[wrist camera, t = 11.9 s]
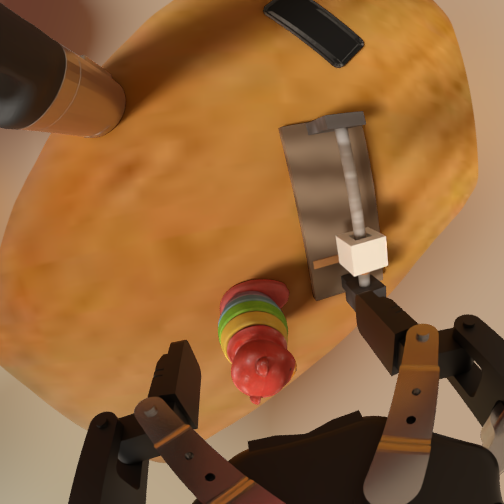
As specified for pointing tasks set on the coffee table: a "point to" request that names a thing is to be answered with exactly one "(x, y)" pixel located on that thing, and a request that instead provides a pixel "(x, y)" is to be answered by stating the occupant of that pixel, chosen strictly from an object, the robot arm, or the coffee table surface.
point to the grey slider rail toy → (332, 198)
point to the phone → (316, 29)
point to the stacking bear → (256, 337)
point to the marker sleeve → (362, 252)
